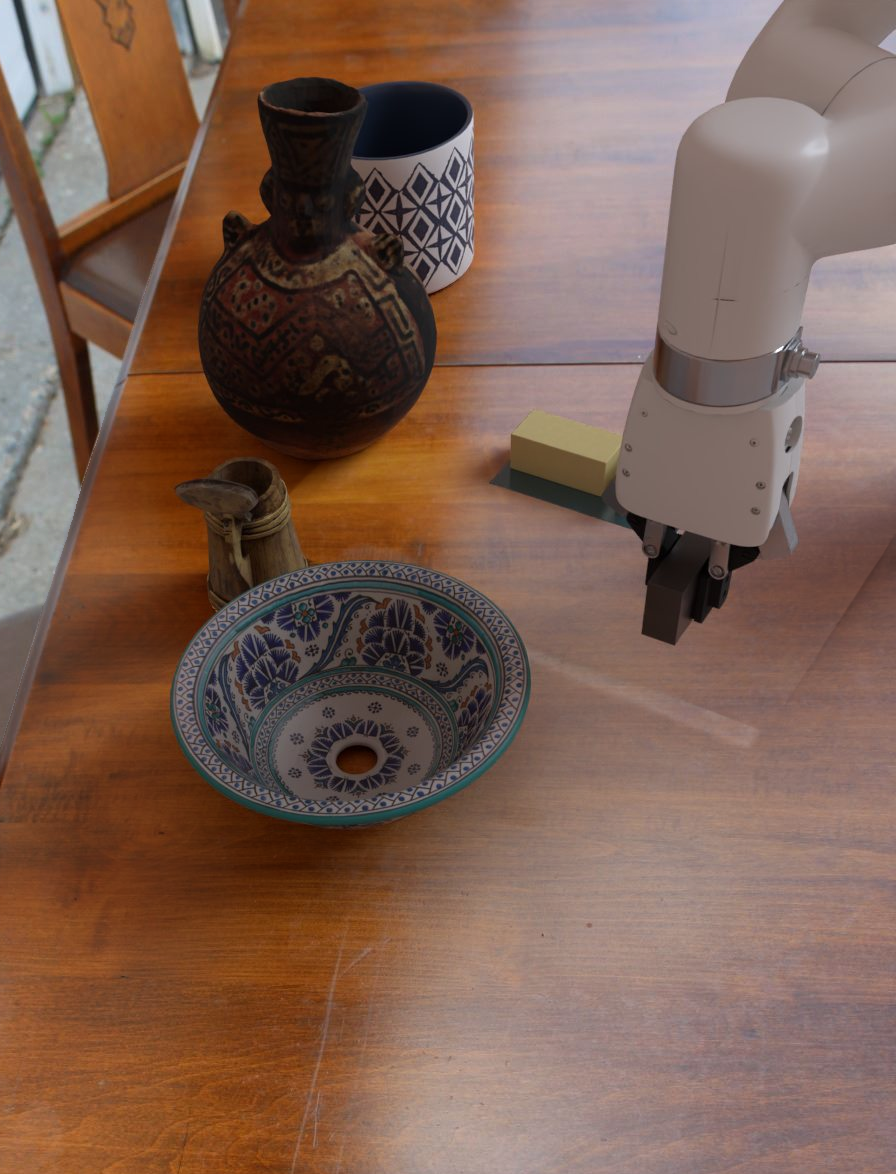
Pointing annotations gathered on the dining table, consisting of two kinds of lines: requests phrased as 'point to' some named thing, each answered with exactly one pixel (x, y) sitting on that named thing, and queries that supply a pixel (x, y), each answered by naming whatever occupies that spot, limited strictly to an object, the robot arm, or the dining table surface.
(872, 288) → the dining table surface
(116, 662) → the dining table surface
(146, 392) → the dining table surface
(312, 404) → the ceramic vessel
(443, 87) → the planter
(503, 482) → the flat slate board
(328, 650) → the bowl
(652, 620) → the knife
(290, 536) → the wooden mug
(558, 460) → the butter stick
